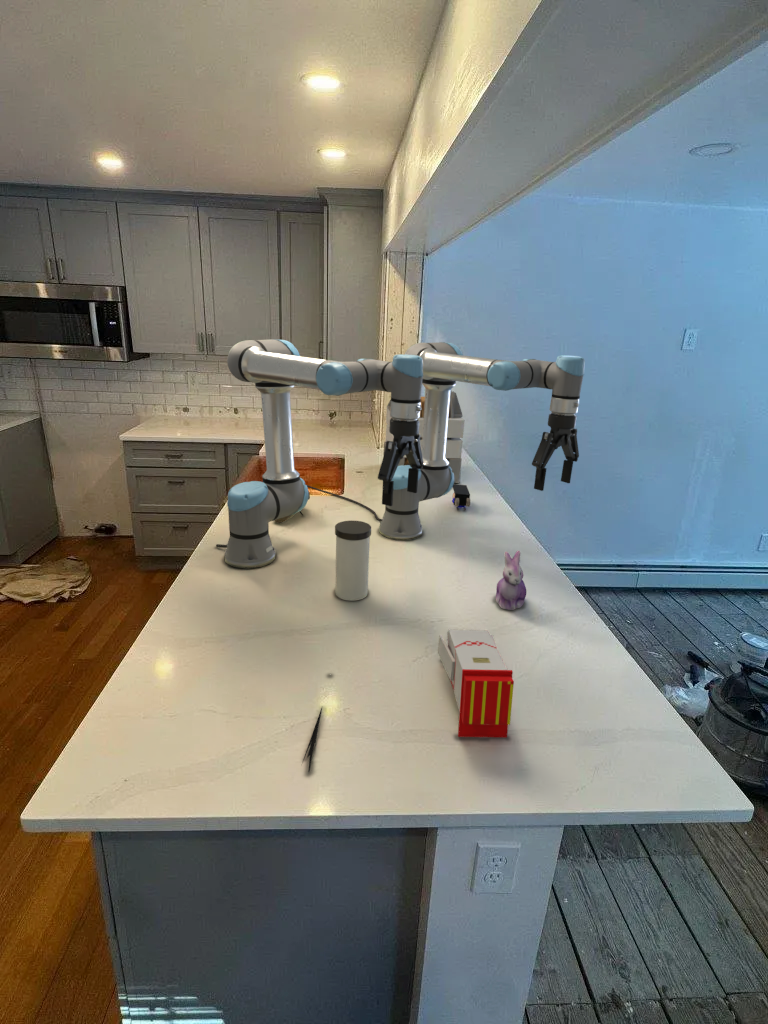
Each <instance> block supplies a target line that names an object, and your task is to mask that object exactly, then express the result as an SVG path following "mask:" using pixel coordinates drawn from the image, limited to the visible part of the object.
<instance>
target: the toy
mask: <svg viewBox="0 0 768 1024" xmlns="http://www.w3.org/2000/svg"><path fill="white" fill-rule="evenodd" d="M446 640H447V643H446V641H445V639H444V636H443V635H442V634H439V637H438V646H437V656H438V657H439V659H440V661H441V663H442V666H443V668H444V670H445V672H446V674H447V677H448V679H449V681H450V684H451V687H452V690H453V693H454V697H455V701H456V705H457V708H458V711H459V714H458V715H459V716H458V730H457V731H458V732H457V737H458V738H508V731H509V726H510V725H511V717H512V707H513V697H514V696H513V695H514V684H515V680H514V679H513V673H514V671H513V670H512V669H508V667H507V665H506V662H505V661H504V659H503V658H502V655H501V653H500V651H499V649H498V647H497V643H496V639H495V637H494V635H493V634H491V632H490V631H489V629H467V628H466V629H465V628H463V629H461V628H460V629H459V628H448V630H447V639H446Z"/></svg>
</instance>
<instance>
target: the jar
mask: <svg viewBox="0 0 768 1024" xmlns="http://www.w3.org/2000/svg"><path fill="white" fill-rule="evenodd" d="M370 537H371V536H370ZM370 537H368V538H366V539H362V540H346V539H342V538H339V537H337V536H336V535H335V584H334V585H335V587H334V589H335V590H334V593H335V596H336V597H337V598H338V599H340V600H341V599H342V600H345V601H359V600H363V599H365V598H366V597H367V596H368V591H369V567H370V566H369V563H370V542H371V541H370V540H371V539H370Z"/></svg>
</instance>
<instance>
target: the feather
mask: <svg viewBox="0 0 768 1024" xmlns="http://www.w3.org/2000/svg"><path fill="white" fill-rule="evenodd" d="M329 675H330V676H331V675H332V674H331V673H330V674H329ZM322 710H323V707H321V708H320V710H319V713H318V716H317V719H316V723H315V725H314V728H313V731H312V733H311V737H310V739H309V742H308V745H307V748H306V751H305V754H304V757H303V760H302V763H301V767H302V765H303V763H304V761H305V758H308V759H309V760H308V762H307V763H308V764H307V766H308V771H310V770H311V766H312V765H311V764H312V760H313V757H315V756H314V755H315V751H316V749H315V746H317V739H318V733H319V729H320V722H321V717H322V712H323V711H322ZM313 754H314V755H313ZM306 755H307V757H306Z"/></svg>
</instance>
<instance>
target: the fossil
mask: <svg viewBox="0 0 768 1024" xmlns="http://www.w3.org/2000/svg"><path fill="white" fill-rule="evenodd" d="M310 493H311V492H310V491H309V490H308V501H309V500H310V498H311V494H310ZM298 513H299V514H300V515H301V516H304V514H303V513H302V510H301V511H299V512H298ZM296 514H297V513H295V514H293V515H290V516H286V517H283V518H280V519H277V520H274V521H273V522H274V523H277V524H282V523H285V522H288V521H289V520H290V519H291V518H292V517H294V516H295V515H296Z"/></svg>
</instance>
